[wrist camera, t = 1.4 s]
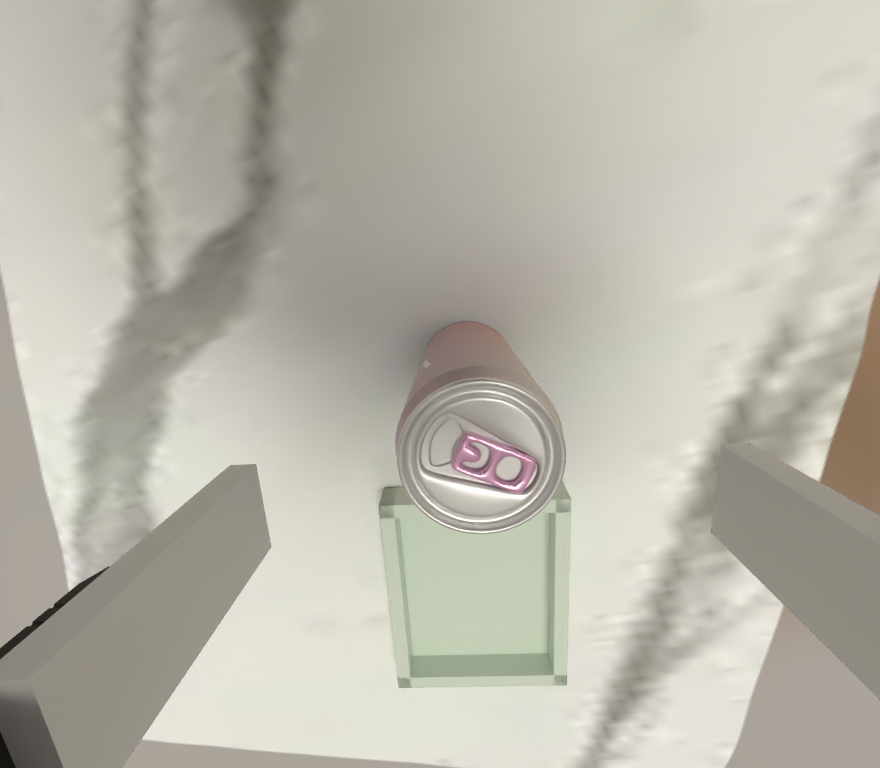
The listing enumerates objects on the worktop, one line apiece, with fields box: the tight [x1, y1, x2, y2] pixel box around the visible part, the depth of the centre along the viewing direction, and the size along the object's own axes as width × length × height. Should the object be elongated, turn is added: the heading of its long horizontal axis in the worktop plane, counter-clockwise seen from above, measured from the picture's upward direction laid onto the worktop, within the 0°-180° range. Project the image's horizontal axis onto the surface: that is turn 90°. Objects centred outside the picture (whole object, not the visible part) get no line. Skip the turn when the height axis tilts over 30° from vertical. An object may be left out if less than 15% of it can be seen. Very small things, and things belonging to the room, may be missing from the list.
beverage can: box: [396, 322, 566, 534], centre depth 21 cm, size 6×6×15 cm
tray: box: [379, 481, 571, 688], centre depth 31 cm, size 16×13×2 cm
